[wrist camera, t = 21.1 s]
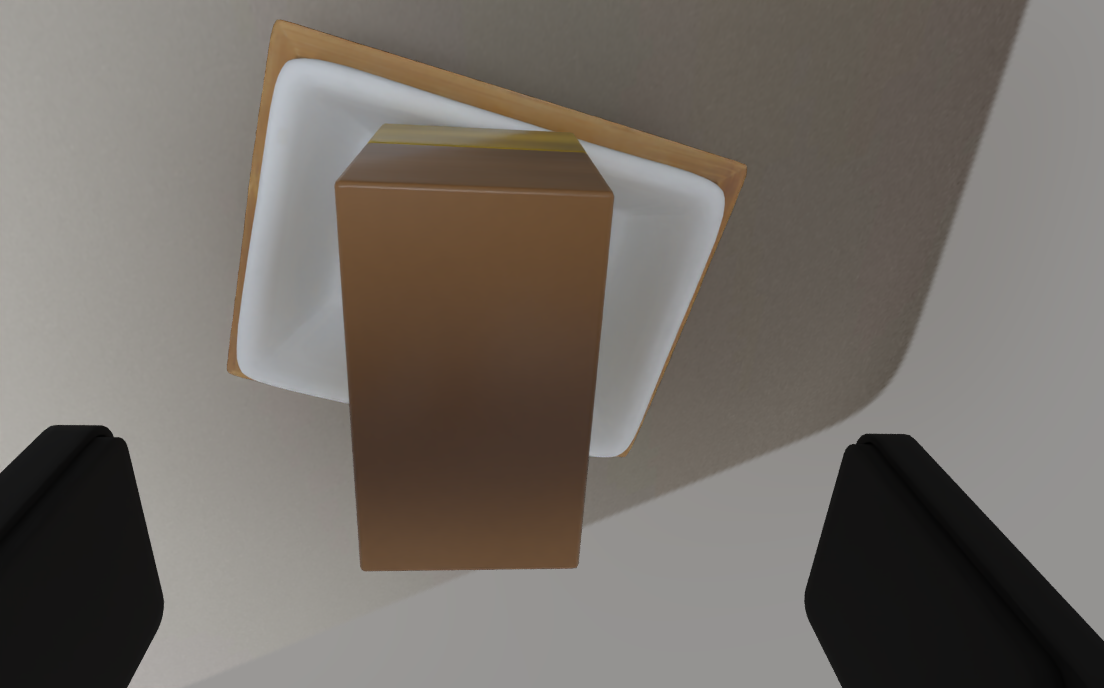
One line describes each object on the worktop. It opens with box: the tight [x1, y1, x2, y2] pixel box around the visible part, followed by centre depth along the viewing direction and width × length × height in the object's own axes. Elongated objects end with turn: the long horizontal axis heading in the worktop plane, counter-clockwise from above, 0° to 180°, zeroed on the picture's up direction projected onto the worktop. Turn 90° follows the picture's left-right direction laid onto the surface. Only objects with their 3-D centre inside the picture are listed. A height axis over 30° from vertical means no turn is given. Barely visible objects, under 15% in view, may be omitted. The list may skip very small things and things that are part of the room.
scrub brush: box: [334, 123, 614, 571], centre depth 16 cm, size 8×4×6 cm, turn 177°
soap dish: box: [227, 20, 747, 457], centre depth 21 cm, size 12×10×5 cm
